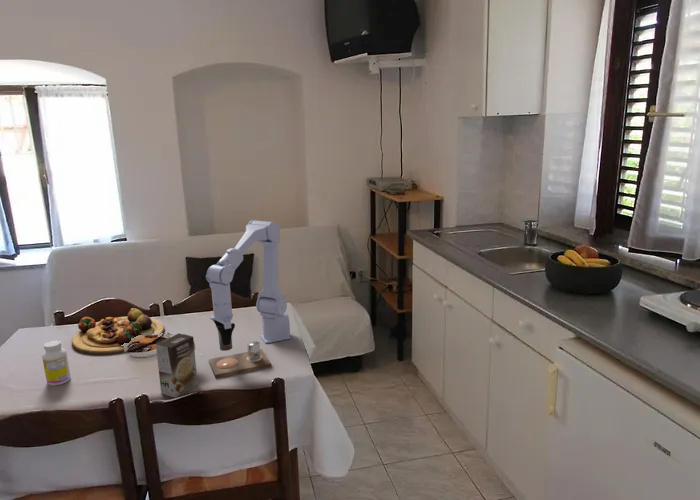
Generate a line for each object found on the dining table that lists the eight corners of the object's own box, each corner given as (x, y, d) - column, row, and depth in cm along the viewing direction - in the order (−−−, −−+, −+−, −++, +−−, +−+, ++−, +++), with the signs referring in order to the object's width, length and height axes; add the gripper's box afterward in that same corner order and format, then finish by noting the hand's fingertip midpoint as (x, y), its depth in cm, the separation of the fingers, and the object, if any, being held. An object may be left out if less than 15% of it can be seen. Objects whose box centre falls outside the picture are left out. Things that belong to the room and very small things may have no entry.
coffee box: (175, 398, 160) (169, 348, 156) (160, 393, 163) (154, 343, 159) (198, 384, 168) (193, 336, 164) (183, 380, 171) (178, 332, 167)
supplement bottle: (52, 376, 175) (46, 339, 172) (74, 375, 176) (68, 338, 172) (43, 387, 169) (36, 348, 165) (65, 385, 169) (58, 347, 166)
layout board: (261, 352, 189) (260, 335, 187) (271, 366, 178) (270, 348, 177) (208, 362, 182) (207, 344, 180) (215, 378, 171) (213, 359, 170)
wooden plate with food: (51, 348, 197) (48, 327, 195) (119, 316, 225) (117, 297, 223) (119, 364, 185) (116, 341, 183) (182, 328, 213) (180, 308, 211)
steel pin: (230, 344, 180) (228, 324, 178) (234, 348, 176) (232, 328, 174) (218, 347, 178) (216, 327, 176) (221, 351, 174) (219, 331, 173)
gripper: (205, 297, 178) (208, 335, 181) (213, 311, 165) (217, 353, 168) (227, 293, 181) (230, 332, 184) (236, 307, 168) (239, 348, 171)
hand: (225, 341), depth 176 cm, fingers closed on steel pin, 4 cm apart
